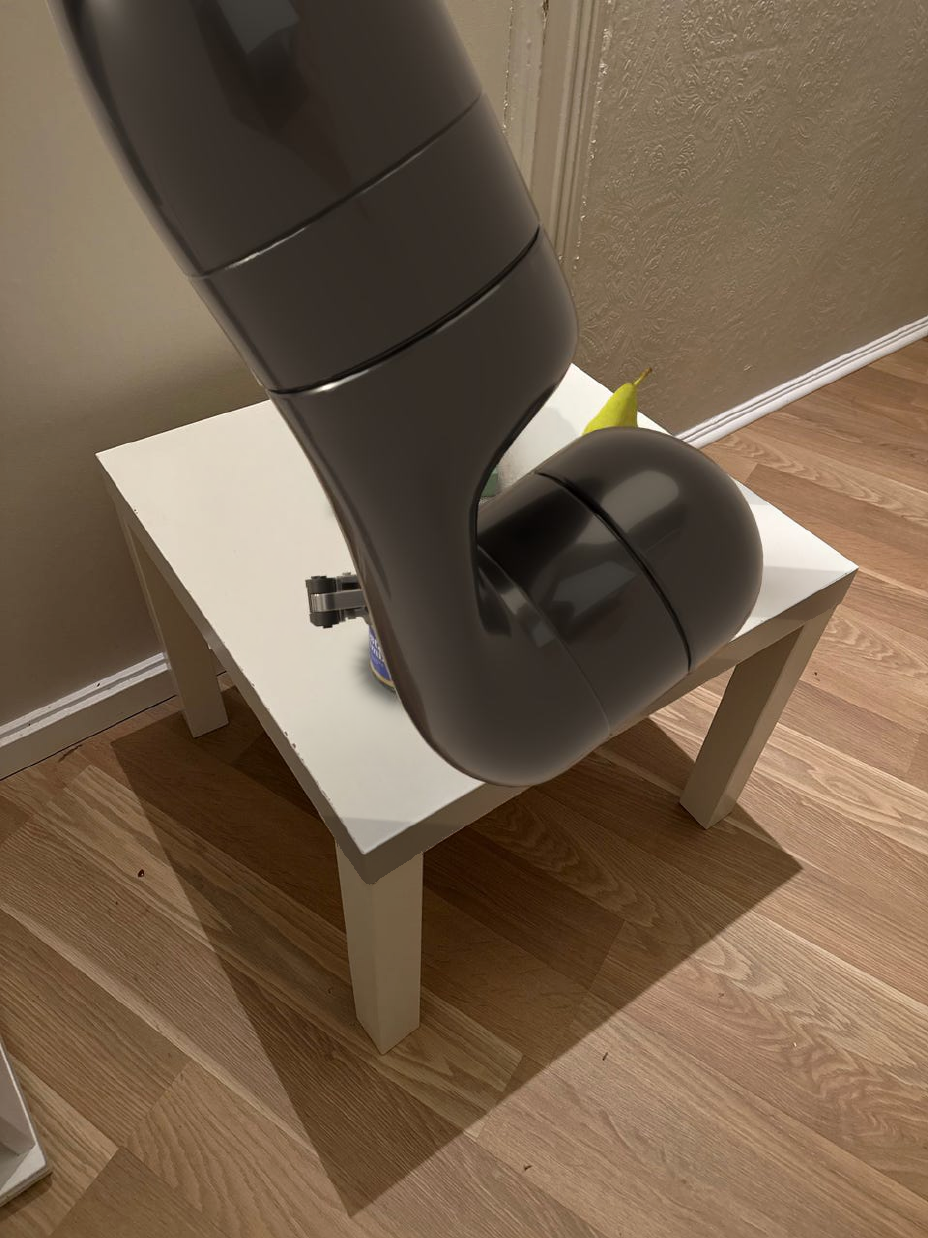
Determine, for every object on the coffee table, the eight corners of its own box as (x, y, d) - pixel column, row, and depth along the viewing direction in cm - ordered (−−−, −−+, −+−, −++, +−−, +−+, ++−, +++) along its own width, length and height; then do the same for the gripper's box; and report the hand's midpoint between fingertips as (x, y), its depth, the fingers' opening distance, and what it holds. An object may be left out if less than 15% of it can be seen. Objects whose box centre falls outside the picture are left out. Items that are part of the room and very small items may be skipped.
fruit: (564, 461, 86) (583, 350, 77) (619, 450, 87) (643, 341, 78) (590, 498, 82) (612, 387, 73) (646, 487, 84) (674, 376, 75)
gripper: (605, 493, 41) (523, 515, 57) (296, 524, 39) (300, 538, 55) (620, 653, 42) (534, 630, 58) (317, 692, 40) (314, 657, 56)
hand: (420, 585), depth 56 cm, fingers open, 8 cm apart
